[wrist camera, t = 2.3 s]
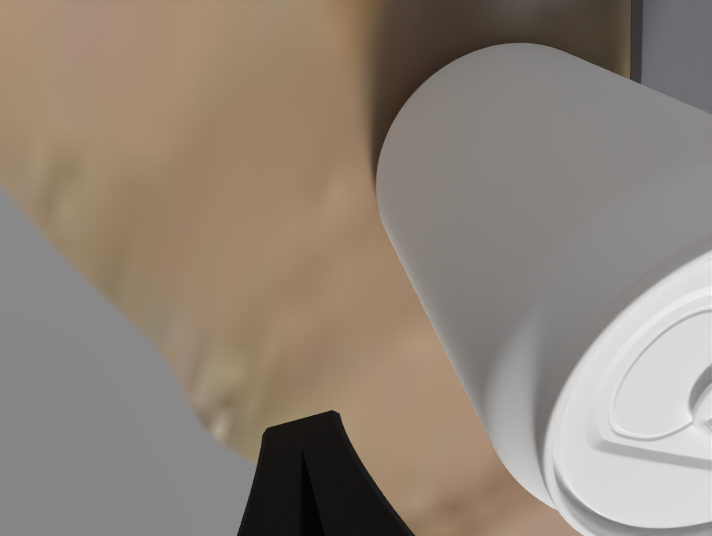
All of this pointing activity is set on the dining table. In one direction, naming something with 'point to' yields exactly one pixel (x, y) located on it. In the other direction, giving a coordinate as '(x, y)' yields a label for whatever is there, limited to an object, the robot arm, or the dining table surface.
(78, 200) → the dining table surface
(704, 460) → the beverage can
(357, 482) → the robot arm
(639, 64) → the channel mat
